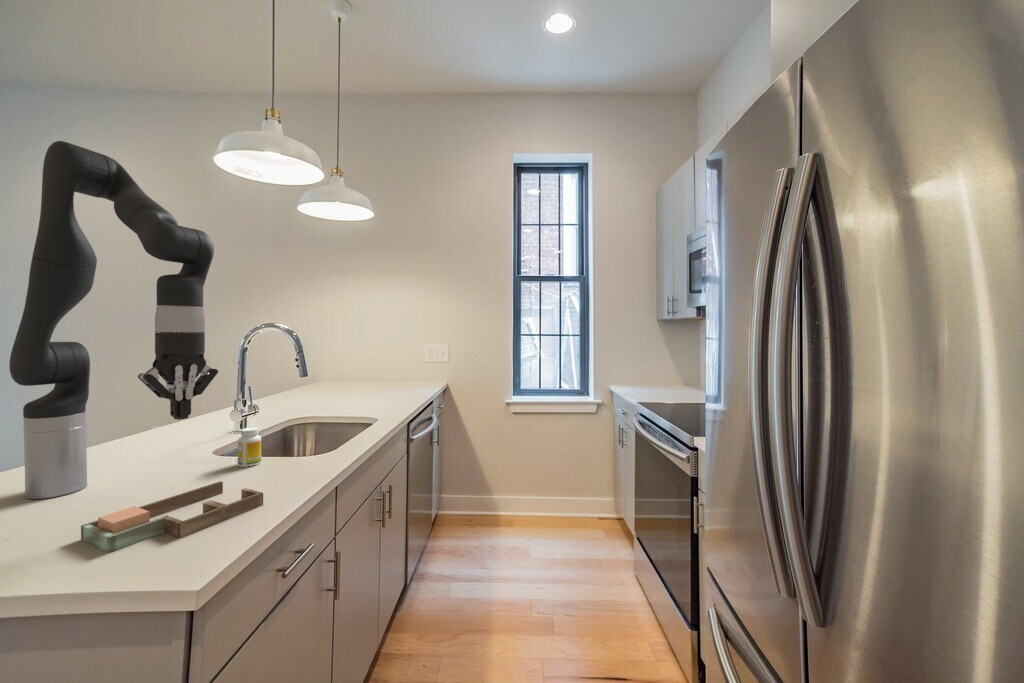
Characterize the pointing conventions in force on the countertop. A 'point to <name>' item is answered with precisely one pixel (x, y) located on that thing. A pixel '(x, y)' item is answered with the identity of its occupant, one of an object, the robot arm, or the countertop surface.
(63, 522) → the countertop surface
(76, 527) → the countertop surface
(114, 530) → the terracotta block
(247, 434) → the supplement bottle
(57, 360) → the robot arm
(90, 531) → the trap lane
